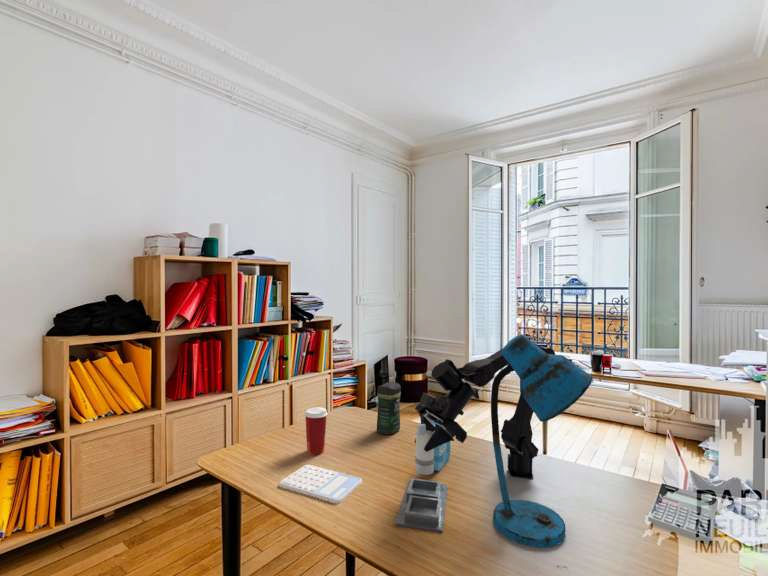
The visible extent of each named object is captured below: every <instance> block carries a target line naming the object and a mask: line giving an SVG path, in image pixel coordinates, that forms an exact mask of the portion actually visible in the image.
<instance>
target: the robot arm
mask: <svg viewBox="0 0 768 576" xmlns="http://www.w3.org/2000/svg"><path fill="white" fill-rule="evenodd" d="M537 346H538V347H539V348H540V349H542V350H543V351H544V352H545V353H547V354H552V355H556V352H555V350H554V349H553V348H552V347H546V346H541V345H537ZM502 349H503V348H500V350H497V351H496V352H494V353H493V354H490V355H489V356H488V357H485V358H482V359H476V360H473V361H470V362H467V363H465V364H464V365H463V366H461V367H457V366H456V365H455V363H454V362H453V361H452V360H451V359H448V358H446V359H445V360H444V361H442V362H439V363H438V364H437V365H435V366H434V367H433V369H432V370H431V377H432V378H433V379H434V380H435V381H436V382H437V384H438V385H439V386H440V387H441V388H442V389H443V390H445V391H447V392H448V393H447V394H446V395H436V396H433V395H432V394H431V395H430V394H429V393H425V392H423V393H422V396H421V398H420V401H419V403H418V404H417V405H416V406H415V408H414V410H415V411H416V412H417V413H418V416H419V418H420V419H419V420H420V424H425V425H426V430H428V431H431V432H434V431H435V432H434V433H433V435H432V436H431V438H430V439H429V441H428V442H427V444H426V446H425V448H424V450H425V451H426V452H428V451H430V450H432V449H434V448H436V447H438V446H440V445H442V444H444V443H447V442H449V441H450V442H454V441H455V440H456V441H458V442H459V443H461V444H464V442H466V440H467V437H468V433H467V431H466V430H465V429H464V428H463V427H462V426H461V425H460V424H459V423H458V421H455V420H456V419H457V417H458V416H459V415H460V416H463V415H465V412H464V411H463V409H464V408H465V407H466V405H467V404H468V402H470V400H471V398H473V399H476V400H480V395H479V389H477V388H476V387H477V386H478V387H480V388H483V387H485V386H486V385H487V384H489V383H490V382H491V381H492V380H494V378H495V376H496V373H497V372H500V371H501V370H502V369H504V368H505V367H507V366H508V364H509V363H508V362H507V360H506V359H505V358H504V356H503V355H502V354H501V351H502ZM464 381H465V382H464ZM472 385H474V386H476V387H473V386H472ZM533 414H534V411H533V410H532V408H531V407H530V406H529V404H528V403H527V401H526V400H525V398H524V397H523V395H522V394H521V393H520V395H519V398H518V399H517V404H516V407H515V410H514V414H513V416H512V417H511V418H510V419H504V421H503V426H502V428H501V430H500V433H501V435H500V438H501V440H502V442H503V444H504V448H505V449H507V450H509V453H508V454H507V466H506V467H507V470H508V471H509V475H510V476H511V477H517V478H518V477H519V478H527V479H534V474H533V459H534V458H536V457H538V453H539V448H538V446H536V445H535V444H534V442H532V440H533V429H532V425H531V421H532V418H533ZM442 422H443V423H442ZM434 423H435V427H434V426H433V424H434ZM436 423H437V424H436ZM438 424H439V425H438ZM440 425H441V426H440ZM454 437H455V439H454ZM414 443H415V444H416V438H414Z"/></svg>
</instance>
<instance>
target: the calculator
mask: <svg viewBox="0 0 768 576" xmlns="http://www.w3.org/2000/svg"><path fill="white" fill-rule="evenodd" d="M362 483H363V479H362V478H361V477H359V476H356V475H355V476H354V475H351V474H348V473H343V472H339V471H336V470H333V469H329V468H328V469H327V468H324V467H320V466H316V465H312V464H305V465H303V466H302V467H300V468H299V469H297V470H296V471H294V472H292V473H290V474H289V475H288V476H287V477H285V478H283V479H282V480H281V481H279V484H278V485H279V486H278V487H280V488H281V487H282V488H281V489H284V488H286V489H285V490H287V489H289V490H288V491H291V490H292V491H291V492H294V491H296V492H295V493H297V492H299V493H298V494H301V493H303V494H302V495H304V494H306V495H305V496H307V495H311V496H313V497H312V498H314V497H316V498H315V499H317V498H319V499H318V500H321V499H322V500H321V501H324V500H325V501H324V502H327V501H329V502H328V503H331V504H335V503H336V505H338V504H340V503H342V502H343V501H344V500H346V498H348V497H349V495H352V493H353V492H355V490H356V489H357V488H358V487H360V486H361V485H362ZM311 496H310V497H311Z"/></svg>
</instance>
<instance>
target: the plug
mask: <svg viewBox="0 0 768 576" xmlns="http://www.w3.org/2000/svg"><path fill="white" fill-rule="evenodd" d="M416 426H417V428H416V429H417V431H416V432H415V439H416V443H415V456H414V462H415V472H416V473H417V474H418V475H422V476H423V475H424V476H428V475H432V474H434V471H435V470H434V449H432V450H430V451H428V452H426V451H425V450H424V448H425V446H426V444H427V442H428V441H429V439H430V438H431V436H432V435H433V432H431V431H428V430H426V425H425V424H421V423H419V424H417V425H416Z"/></svg>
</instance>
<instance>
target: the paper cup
mask: <svg viewBox="0 0 768 576" xmlns="http://www.w3.org/2000/svg"><path fill="white" fill-rule="evenodd" d="M327 416H328V411H327V409H326V408H325V407H319V406H317V407H310V408H307V409H306V410H305V413H304V417H305V434H306V435H305V436H306V450H307V451H306V452H307V454H308V455H311V456H318V455H322V454H324V452H325V444H326V443H325V442H326V431H327V430H326V428H327Z"/></svg>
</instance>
